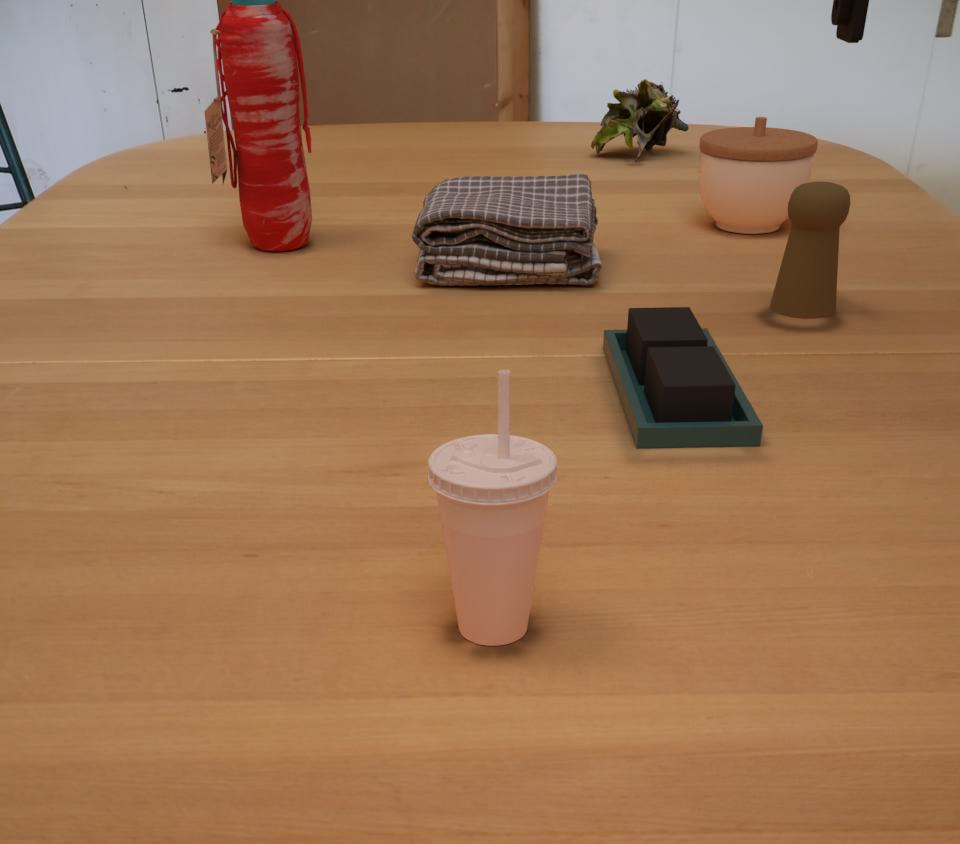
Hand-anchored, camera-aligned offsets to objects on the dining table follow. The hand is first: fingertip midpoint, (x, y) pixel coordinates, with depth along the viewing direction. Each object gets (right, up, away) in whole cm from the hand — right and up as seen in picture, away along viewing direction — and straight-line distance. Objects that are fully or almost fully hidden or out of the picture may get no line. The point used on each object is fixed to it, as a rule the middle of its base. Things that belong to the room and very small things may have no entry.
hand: (928, 39), depth 67 cm
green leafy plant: (-4, +39, +93) cm, 101 cm away
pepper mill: (+3, -4, +36) cm, 36 cm away
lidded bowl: (+4, +16, +61) cm, 63 cm away
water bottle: (-50, +11, +56) cm, 76 cm away
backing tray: (-12, -16, +19) cm, 28 cm away
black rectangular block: (-12, -18, +16) cm, 27 cm away
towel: (-24, +5, +48) cm, 54 cm away
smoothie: (-26, -36, -6) cm, 45 cm away
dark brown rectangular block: (-12, -12, +23) cm, 29 cm away
